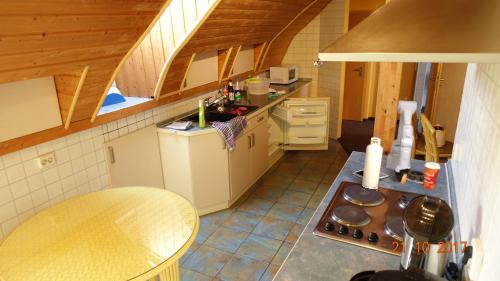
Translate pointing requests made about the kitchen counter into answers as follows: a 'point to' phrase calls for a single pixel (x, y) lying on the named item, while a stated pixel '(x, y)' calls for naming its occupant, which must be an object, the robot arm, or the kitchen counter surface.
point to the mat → (415, 181)
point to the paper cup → (430, 175)
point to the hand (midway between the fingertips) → (401, 180)
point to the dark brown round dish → (415, 175)
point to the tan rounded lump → (403, 179)
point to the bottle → (372, 164)
